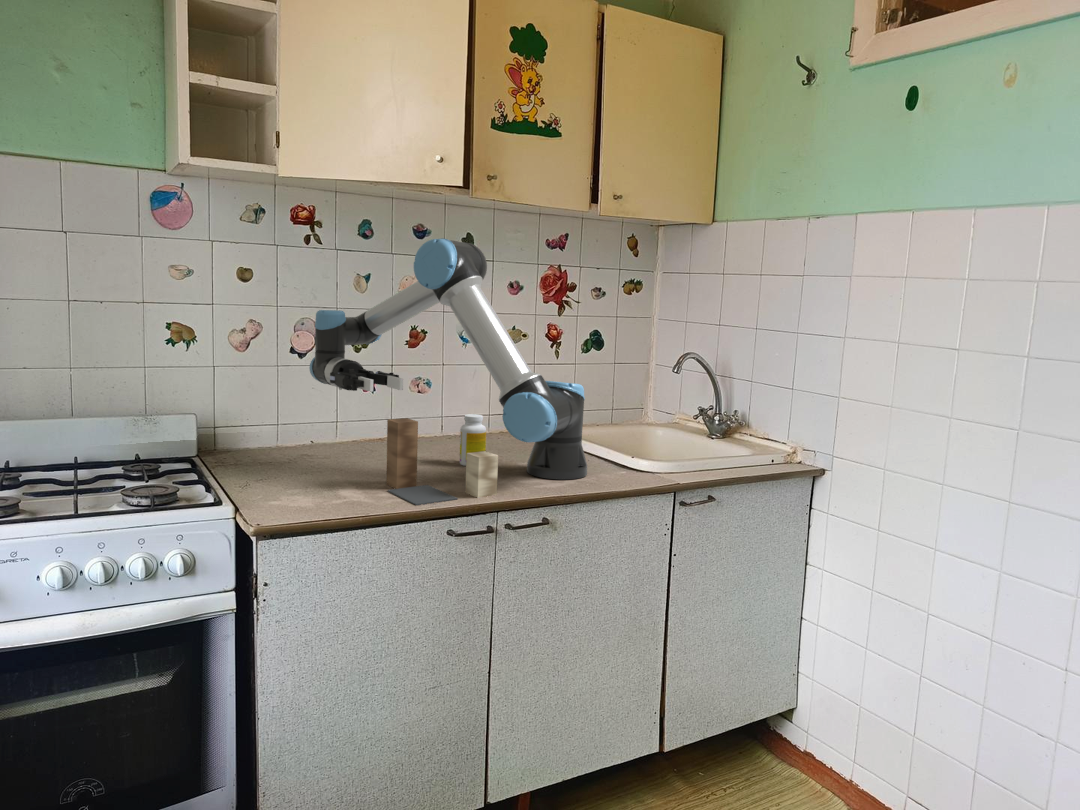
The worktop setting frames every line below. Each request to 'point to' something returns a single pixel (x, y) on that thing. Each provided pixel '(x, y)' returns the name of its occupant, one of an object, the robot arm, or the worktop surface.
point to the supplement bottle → (472, 436)
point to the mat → (422, 494)
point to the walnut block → (402, 453)
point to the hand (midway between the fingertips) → (386, 385)
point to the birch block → (481, 474)
